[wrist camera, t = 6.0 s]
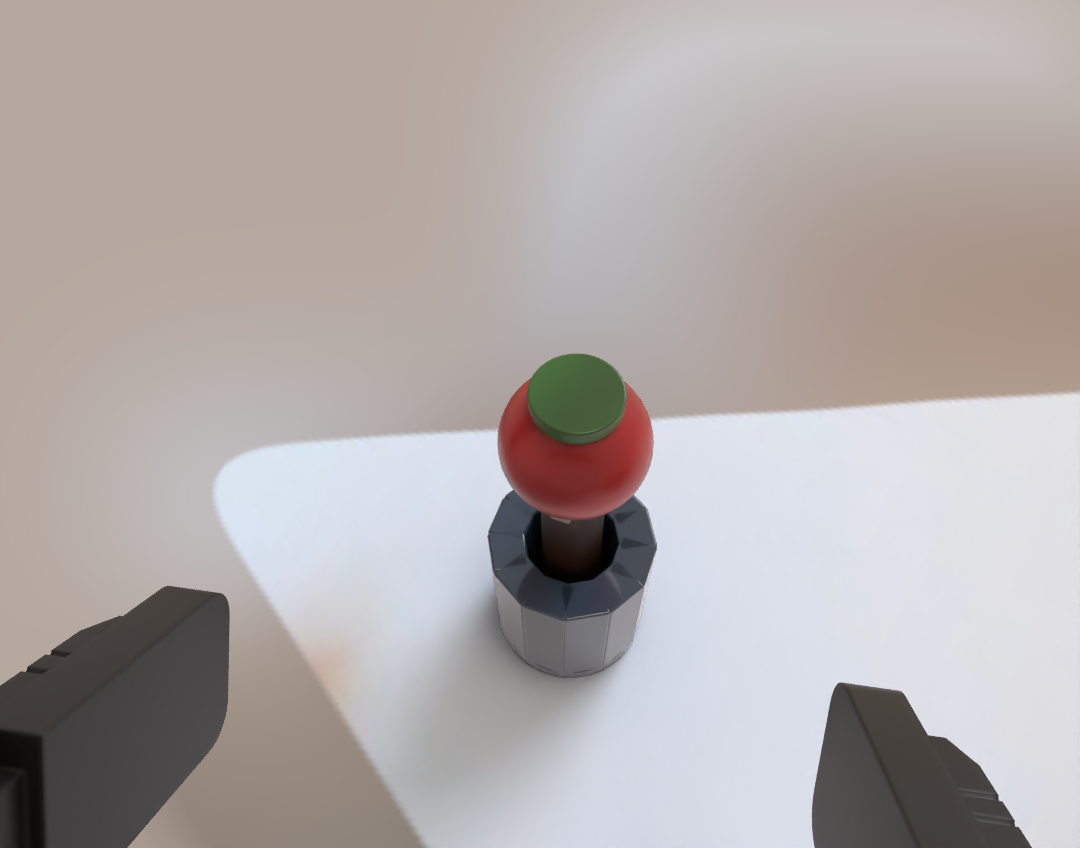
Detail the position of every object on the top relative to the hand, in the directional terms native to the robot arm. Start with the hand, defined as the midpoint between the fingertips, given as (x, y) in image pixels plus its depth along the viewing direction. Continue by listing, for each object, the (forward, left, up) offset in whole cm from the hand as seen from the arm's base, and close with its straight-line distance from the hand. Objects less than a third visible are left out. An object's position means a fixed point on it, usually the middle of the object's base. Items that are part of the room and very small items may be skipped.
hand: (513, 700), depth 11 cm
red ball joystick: (-1, +7, -14) cm, 16 cm away
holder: (-1, +7, -15) cm, 16 cm away
